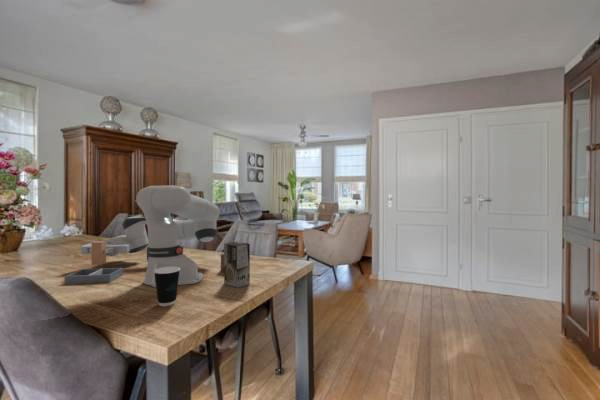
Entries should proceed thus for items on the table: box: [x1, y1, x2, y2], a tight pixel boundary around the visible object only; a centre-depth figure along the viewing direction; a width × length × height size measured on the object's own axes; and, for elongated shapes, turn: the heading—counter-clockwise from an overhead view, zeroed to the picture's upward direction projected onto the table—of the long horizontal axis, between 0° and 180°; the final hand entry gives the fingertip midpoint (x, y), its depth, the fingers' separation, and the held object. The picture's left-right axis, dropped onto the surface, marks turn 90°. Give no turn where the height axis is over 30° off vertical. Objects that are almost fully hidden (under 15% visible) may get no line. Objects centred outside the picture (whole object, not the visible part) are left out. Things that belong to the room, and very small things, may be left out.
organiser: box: [64, 267, 124, 285], centre depth 120 cm, size 16×12×3 cm
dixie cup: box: [153, 267, 180, 307], centre depth 93 cm, size 8×8×11 cm
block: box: [91, 240, 107, 266], centre depth 131 cm, size 4×4×10 cm
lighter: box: [220, 248, 224, 272], centre depth 134 cm, size 8×3×10 cm, turn 71°
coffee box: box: [223, 241, 251, 289], centre depth 114 cm, size 9×6×16 cm
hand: (97, 251), depth 130 cm, fingers closed on block, 4 cm apart
